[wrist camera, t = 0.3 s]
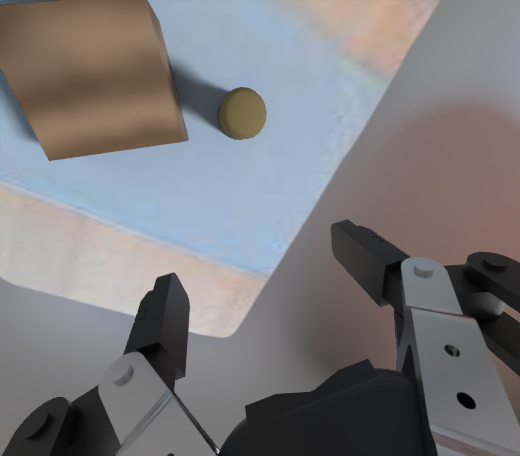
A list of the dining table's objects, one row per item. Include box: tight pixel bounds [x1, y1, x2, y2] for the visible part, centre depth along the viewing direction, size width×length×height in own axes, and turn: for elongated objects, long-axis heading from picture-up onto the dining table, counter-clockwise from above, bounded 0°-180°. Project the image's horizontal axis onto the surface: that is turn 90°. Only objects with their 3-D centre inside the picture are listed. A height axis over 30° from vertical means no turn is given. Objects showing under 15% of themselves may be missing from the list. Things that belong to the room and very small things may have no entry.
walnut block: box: [0, 0, 189, 161], centre depth 27 cm, size 14×16×6 cm
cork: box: [218, 87, 266, 140], centre depth 28 cm, size 6×6×11 cm
